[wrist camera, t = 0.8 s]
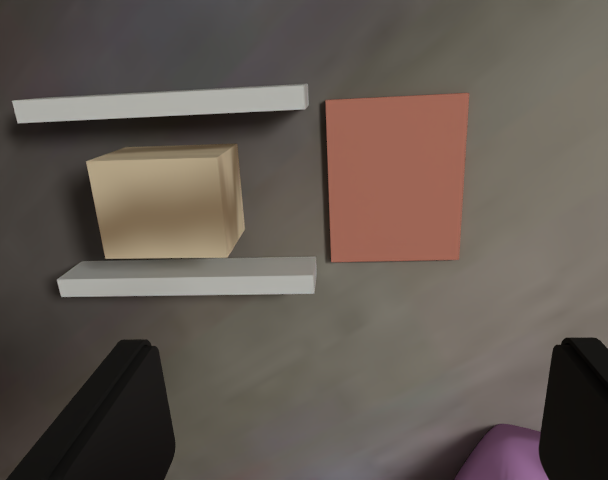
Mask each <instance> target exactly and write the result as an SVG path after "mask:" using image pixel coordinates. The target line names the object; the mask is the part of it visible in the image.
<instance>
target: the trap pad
mask: <svg viewBox="0 0 608 480" xmlns="http://www.w3.org/2000/svg"><path fill="white" fill-rule="evenodd" d="M468 104H469V93H455V94H435V95H415V96H395V97H376V98H356V99H336V100H326V128H327V156H328V184H329V212H330V240H331V262H364V261H416V260H459V249H460V233H461V217H462V201H463V185H464V169H465V153H466V137H467V121H468Z"/></svg>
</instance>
